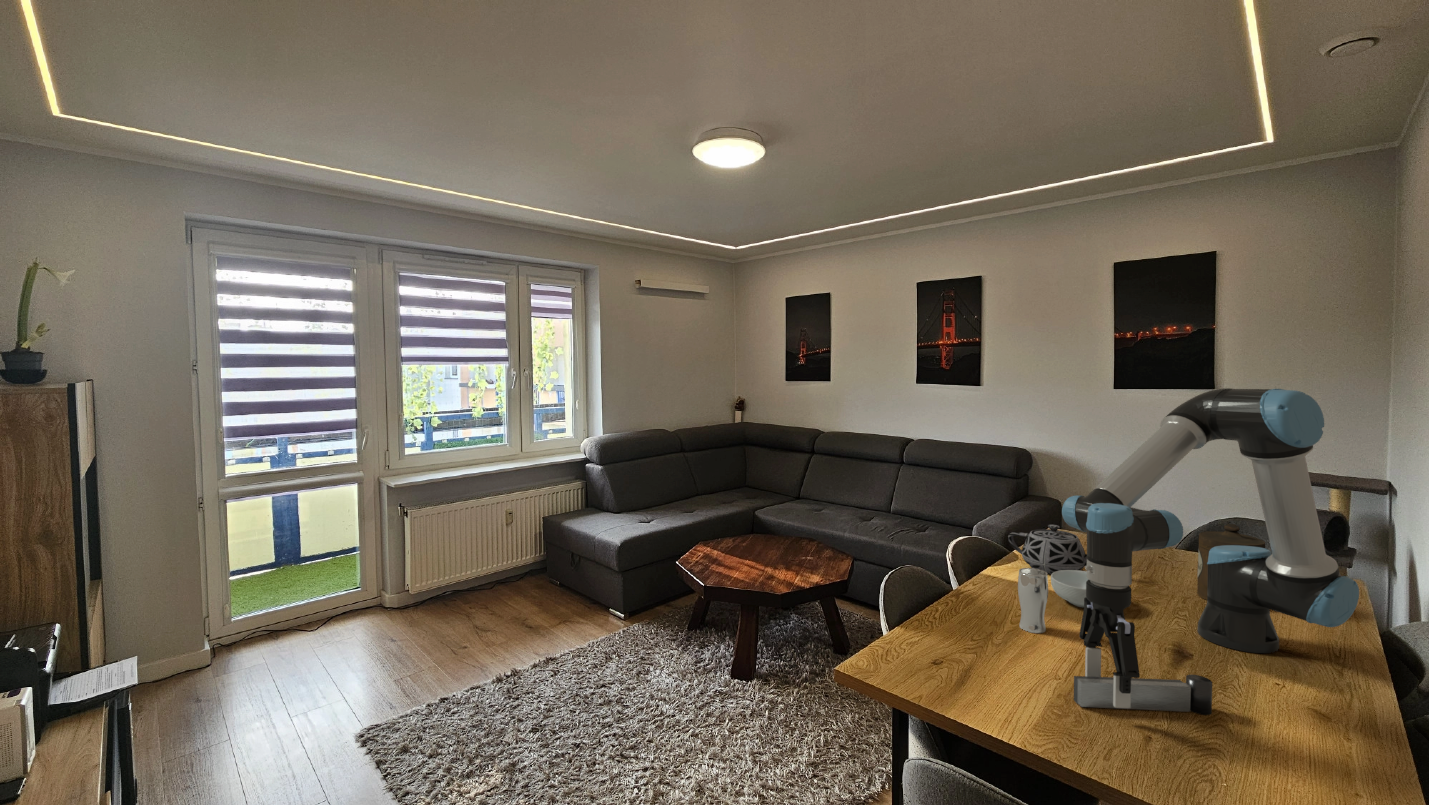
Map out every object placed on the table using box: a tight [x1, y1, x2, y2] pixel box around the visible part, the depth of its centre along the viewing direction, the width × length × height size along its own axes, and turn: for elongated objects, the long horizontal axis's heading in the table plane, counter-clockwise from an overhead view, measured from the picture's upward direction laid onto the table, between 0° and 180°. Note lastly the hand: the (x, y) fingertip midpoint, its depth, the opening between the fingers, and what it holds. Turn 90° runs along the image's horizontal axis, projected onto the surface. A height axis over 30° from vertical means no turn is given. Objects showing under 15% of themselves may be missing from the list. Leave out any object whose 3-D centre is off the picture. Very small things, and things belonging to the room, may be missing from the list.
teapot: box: [1007, 524, 1087, 575], centre depth 201 cm, size 19×31×15 cm, turn 47°
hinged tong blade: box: [1076, 678, 1191, 713], centre depth 118 cm, size 20×2×5 cm, turn 83°
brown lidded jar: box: [1196, 523, 1266, 601], centre depth 172 cm, size 15×15×22 cm
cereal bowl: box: [1050, 570, 1089, 609], centre depth 172 cm, size 17×17×7 cm
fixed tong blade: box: [1073, 674, 1213, 716], centre depth 119 cm, size 24×4×6 cm, turn 84°
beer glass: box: [1017, 567, 1049, 634], centre depth 155 cm, size 7×7×15 cm
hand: (1106, 692), depth 119 cm, fingers open, 10 cm apart
